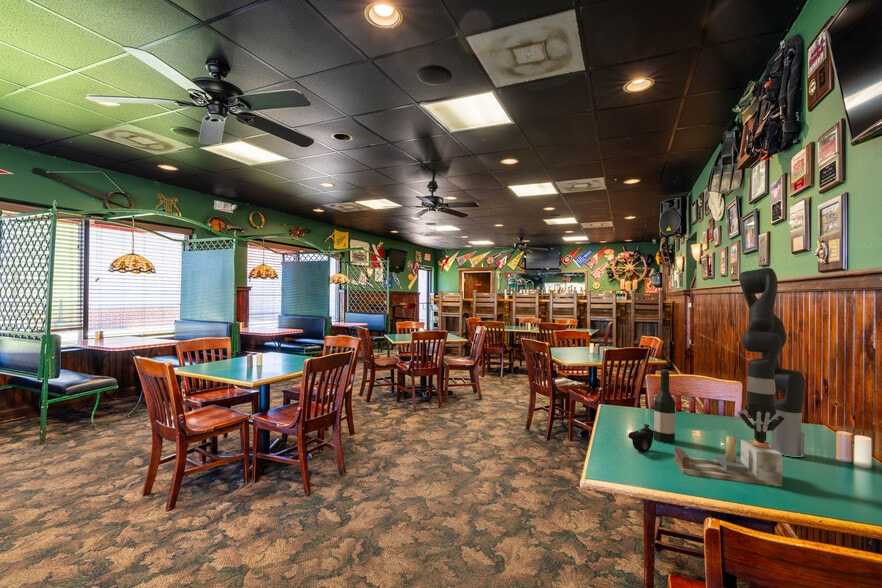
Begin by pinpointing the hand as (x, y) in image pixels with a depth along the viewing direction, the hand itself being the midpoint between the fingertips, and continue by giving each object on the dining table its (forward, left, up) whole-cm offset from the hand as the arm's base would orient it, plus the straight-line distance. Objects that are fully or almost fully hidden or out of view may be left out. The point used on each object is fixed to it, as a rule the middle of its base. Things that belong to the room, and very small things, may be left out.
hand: (760, 441), depth 136 cm
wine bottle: (+22, -30, -12) cm, 39 cm away
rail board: (+10, 0, -12) cm, 16 cm away
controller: (+34, -12, -12) cm, 38 cm away
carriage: (+8, 0, -9) cm, 12 cm away
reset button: (0, 0, -1) cm, 1 cm away
